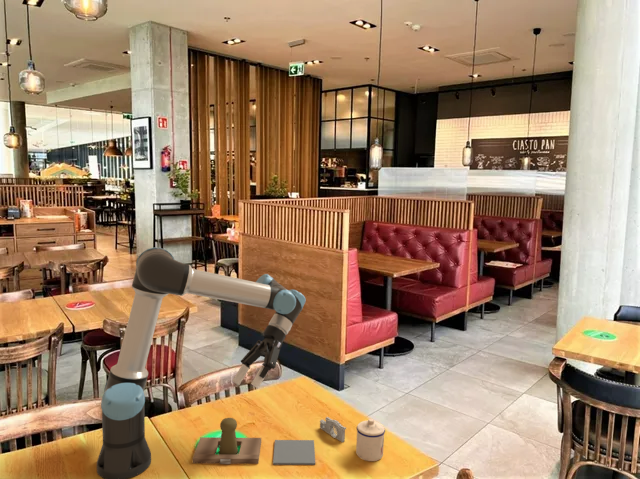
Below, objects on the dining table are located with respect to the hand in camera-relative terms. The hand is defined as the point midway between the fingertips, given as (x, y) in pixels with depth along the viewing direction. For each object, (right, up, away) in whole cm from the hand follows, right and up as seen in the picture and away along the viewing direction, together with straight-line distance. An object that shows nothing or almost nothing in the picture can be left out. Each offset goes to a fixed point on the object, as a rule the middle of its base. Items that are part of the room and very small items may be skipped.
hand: (244, 384), depth 157 cm
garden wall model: (+29, -20, +8) cm, 36 cm away
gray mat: (+16, -21, -3) cm, 27 cm away
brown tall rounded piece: (-4, -20, -4) cm, 21 cm away
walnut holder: (-4, -20, -4) cm, 21 cm away
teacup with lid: (+40, -22, -1) cm, 46 cm away
